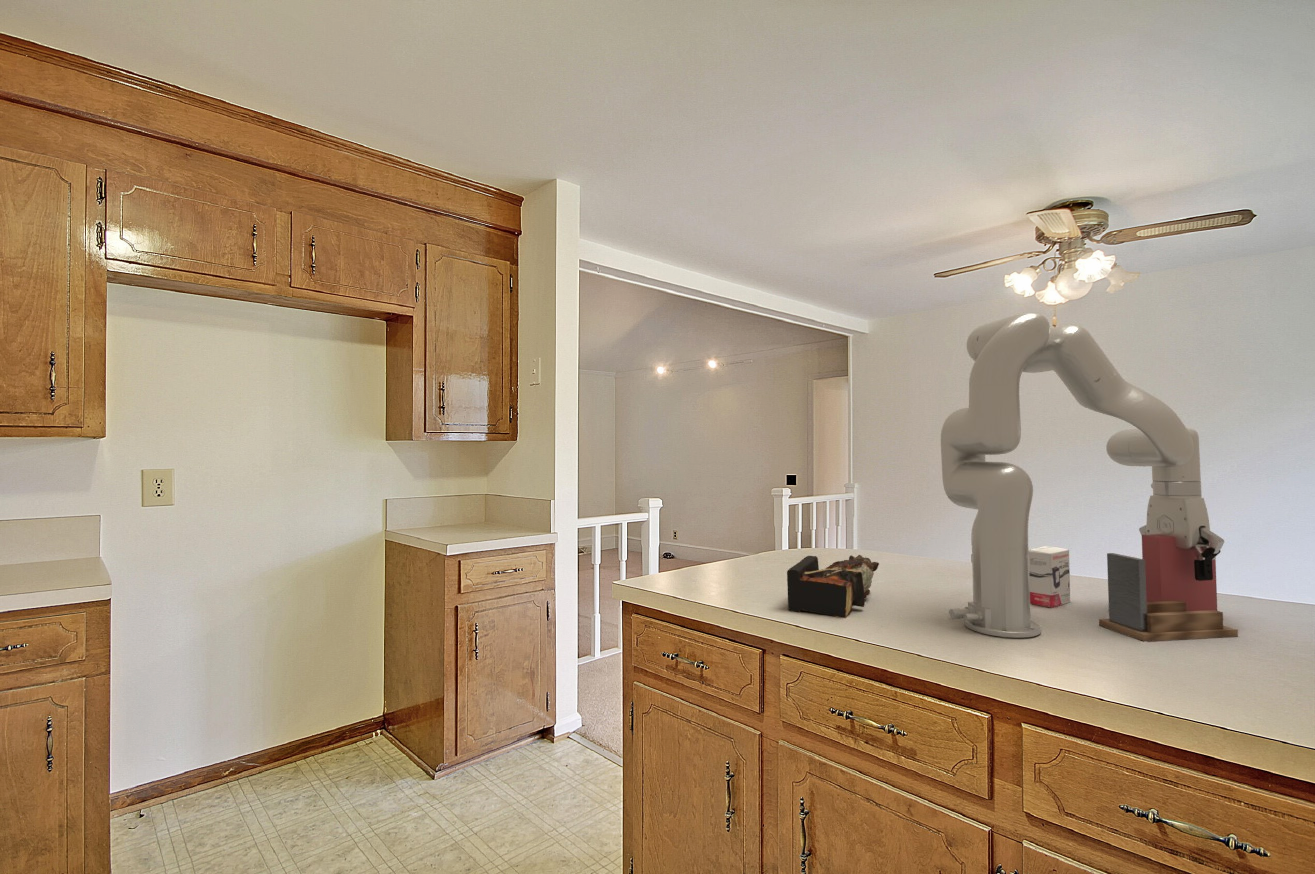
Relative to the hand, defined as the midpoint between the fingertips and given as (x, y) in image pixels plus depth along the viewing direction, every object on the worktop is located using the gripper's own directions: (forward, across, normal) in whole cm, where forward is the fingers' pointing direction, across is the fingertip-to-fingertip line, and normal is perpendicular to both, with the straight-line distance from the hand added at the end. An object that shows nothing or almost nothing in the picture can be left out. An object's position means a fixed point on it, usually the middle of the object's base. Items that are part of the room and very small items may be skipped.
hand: (1180, 574), depth 125 cm
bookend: (+7, -22, -63) cm, 67 cm away
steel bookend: (+8, +9, -20) cm, 23 cm away
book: (+8, 0, 0) cm, 8 cm away
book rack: (+8, +9, -12) cm, 17 cm away
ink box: (+8, -13, -18) cm, 24 cm away
